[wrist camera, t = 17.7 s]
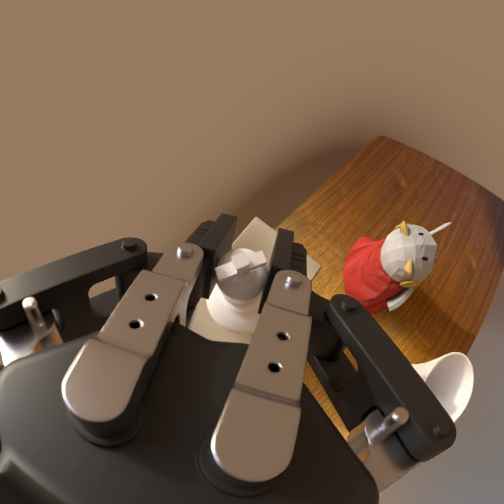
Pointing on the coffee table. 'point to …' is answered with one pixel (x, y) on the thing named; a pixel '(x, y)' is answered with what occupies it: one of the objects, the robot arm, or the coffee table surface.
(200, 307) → the rectangular box
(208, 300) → the chess piece
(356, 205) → the coffee table surface
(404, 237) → the figurine
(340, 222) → the coffee table surface
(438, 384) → the cup
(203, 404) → the robot arm
